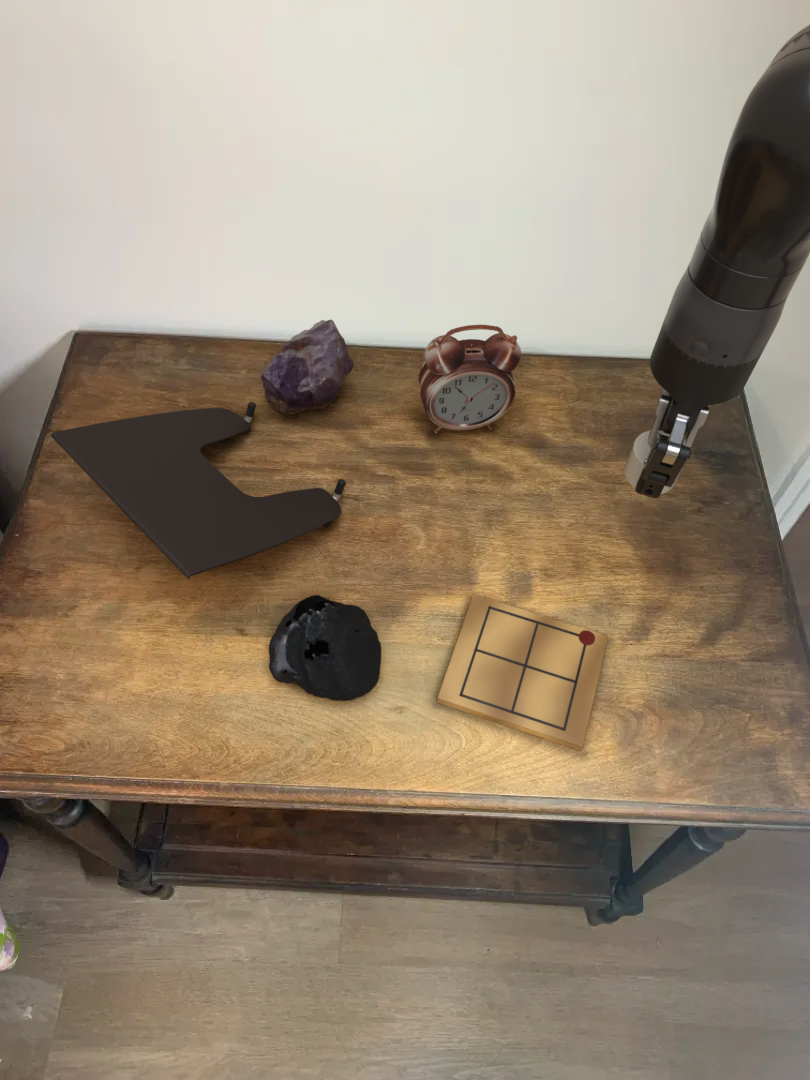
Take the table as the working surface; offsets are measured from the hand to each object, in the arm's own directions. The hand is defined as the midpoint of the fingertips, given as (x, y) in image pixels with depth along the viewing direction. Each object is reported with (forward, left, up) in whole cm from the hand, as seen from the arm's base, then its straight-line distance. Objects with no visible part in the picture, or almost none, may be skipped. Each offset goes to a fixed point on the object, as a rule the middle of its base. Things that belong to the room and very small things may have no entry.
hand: (652, 470), depth 74 cm
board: (+6, +16, -15) cm, 23 cm away
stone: (0, 0, -1) cm, 1 cm away
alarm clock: (+21, -13, -15) cm, 29 cm away
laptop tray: (+42, +8, -15) cm, 45 cm away
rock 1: (+39, -11, -15) cm, 43 cm away
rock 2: (+24, +21, -15) cm, 35 cm away
